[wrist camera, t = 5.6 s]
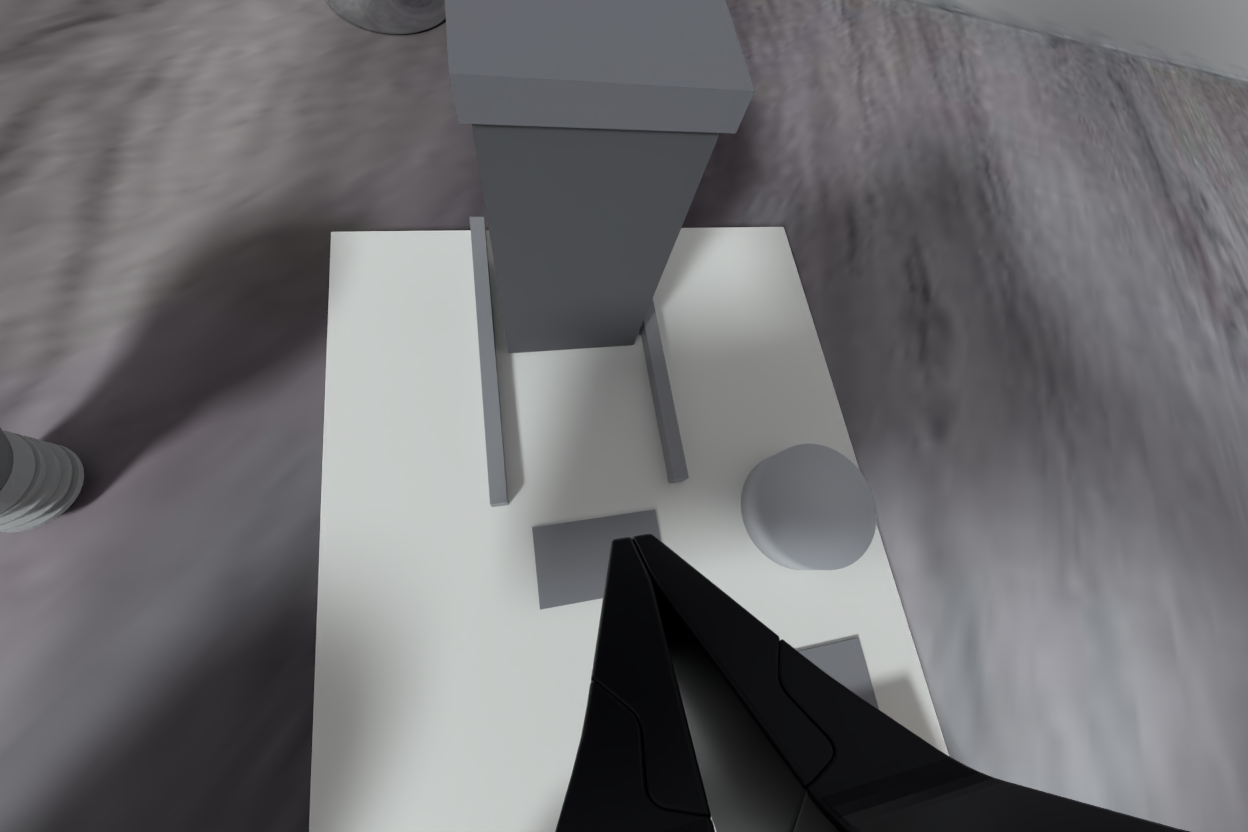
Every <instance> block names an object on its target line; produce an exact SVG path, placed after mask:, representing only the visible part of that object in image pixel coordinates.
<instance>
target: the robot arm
mask: <svg viewBox="0 0 1248 832" xmlns="http://www.w3.org/2000/svg"><path fill="white" fill-rule="evenodd" d="M711 818H712V820H711ZM712 821H713V822H712ZM713 823H714V825H713ZM714 826H715V829H716V831H717V832H1190V831H1185V830H1181V829H1177V828H1173V827H1170V826H1166V825H1162V824H1159V823H1155V822H1151V821H1148V820H1144V819H1141V818H1137V817H1133V816H1130V815H1126V814H1122V813H1119V812H1115V811H1112V810H1108V809H1104V808H1101V807H1097V806H1093V805H1090V804H1086V803H1082V802H1079V801H1075V800H1072V799H1068V798H1064V797H1061V796H1057V795H1053V794H1050V793H1046V792H1043V791H1039V790H1035V789H1032V788H1028V787H1024V786H1021V785H1017V784H1014V783H1010V782H1006V781H1003V780H1000V779H996V778H993V777H991V776H988V775H986V774H983V773H981V772H978V771H976V770H974V769H972V768H970V767H968V766H966V765H964V764H962V763H960V762H958V761H957V760H955V759H953V758H951V757H949V756H948V755H946V754H945V753H943V752H941V751H940V750H938V749H937V748H935V747H934V746H932V745H931V744H929V743H928V742H926V741H925V740H923V739H922V738H920V737H919V736H917V735H916V734H914V733H913V732H911V731H910V730H908V729H907V728H905V727H904V726H902V725H901V724H899V723H898V722H897V721H895V720H894V719H892V718H891V717H889V716H888V715H886V714H885V713H883V712H882V711H880V710H879V709H877V708H876V707H874V706H873V705H871V704H870V703H868V702H867V701H865V700H864V699H862V698H861V697H859V696H858V695H857V694H855V693H854V692H852V691H851V690H849V689H848V688H847V687H845V686H844V685H842V684H841V683H839V682H838V681H837V680H835V679H834V678H832V677H831V676H830V675H828V674H827V673H825V672H824V671H823V670H821V669H820V668H819V667H818V666H816V665H815V664H814V663H812V662H811V661H810V660H808V659H807V658H806V657H805V656H803V655H802V654H801V653H799V652H798V651H797V650H796V649H794V648H793V647H792V646H791V645H789V644H788V643H787V642H786V641H784V640H783V639H781V640H780V638H779V636H778V635H777V634H776V633H774V632H773V631H772V630H771V629H769V628H768V627H767V626H766V625H764V624H763V623H762V622H761V621H759V620H758V619H757V618H756V617H754V616H753V615H752V614H751V613H749V612H748V611H747V610H746V609H745V608H743V607H742V606H741V605H740V604H738V603H737V602H736V601H735V600H733V599H732V598H731V597H730V596H728V595H727V594H726V593H725V592H723V591H722V590H721V589H720V588H718V587H717V586H716V585H715V584H714V583H712V582H711V581H710V580H709V579H707V578H706V577H705V576H704V575H702V574H701V573H700V572H699V571H697V570H696V569H695V568H694V567H692V566H691V565H690V564H689V563H687V562H686V561H685V560H684V559H682V558H681V557H680V556H679V555H678V554H676V553H675V552H674V551H673V550H671V549H670V548H669V547H668V546H666V545H665V544H664V543H663V542H661V541H660V540H659V539H658V538H656V537H655V536H654V535H652V534H643V535H636V536H634V537H633V538H630V537H624V538H617V539H613V540H612V542H611V547H610V554H609V561H608V568H607V574H606V581H605V588H604V594H603V601H602V608H601V615H600V621H599V628H598V635H597V642H596V648H595V655H594V662H593V669H592V675H591V683H590V687H589V694H588V701H587V707H586V712H585V718H584V723H583V728H582V734H581V739H580V742H579V746H578V750H577V754H576V758H575V762H574V766H573V770H572V774H571V777H570V781H569V784H568V788H567V792H566V795H565V799H564V802H563V806H562V809H561V813H560V816H559V820H558V823H557V827H556V830H555V832H715V829H714Z"/></svg>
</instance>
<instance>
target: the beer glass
mask: <svg viewBox="0 0 1248 832" xmlns="http://www.w3.org/2000/svg"><path fill="white" fill-rule="evenodd" d="M326 2H327V3H328V5H329V6H330V7H331V8H332V9H333V10H334V11H335V12H336V13H337V14H338V15H340V16H341V17H342V18H344V19H345V20H347V21H349V22H351V23H352V24H354V25H357V26H359V27H361V28H364V29H367V30H371V31H375V32H379V33H386V34H411V33H417V32H421V31H425V30H428V29H430V28H433V27H435V26H437V25H438V24H440V23H441V22H443V21H444V20H445V19H446V13H445V0H326Z"/></svg>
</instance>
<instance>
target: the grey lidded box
mask: <svg viewBox="0 0 1248 832" xmlns="http://www.w3.org/2000/svg"><path fill="white" fill-rule="evenodd" d="M445 13H446V30H447V46H448V62H449V75H450V80H451V86H452V91H453V96H454V102H455V107H456V112H457V118H458V123H459V124H472V126H473V133H474V139H475V145H476V152H477V158H478V164H479V171H480V177H481V183H482V190H483V196H484V202H485V209H486V215H487V222H488V228H489V234H490V241H491V247H492V253H493V260H494V266H495V272H496V279H497V285H498V291H499V298H500V304H501V311H502V317H503V323H504V330H505V336H506V342H507V349H508V353H523V352H538V351H553V350H568V349H583V348H598V347H613V346H628V345H634V342H635V340H636V337H637V335H638V332H639V330H640V328H641V325H642V323H643V320H644V318H645V315H646V313H647V310H648V308H649V306H650V303H651V301H652V298H653V296H654V293H655V291H656V289H657V286H658V284H659V281H660V279H661V276H662V274H663V271H664V269H665V267H666V264H667V262H668V259H669V257H670V254H671V252H672V249H673V247H674V245H675V242H676V240H677V237H678V235H679V232H680V230H681V228H682V225H683V223H684V220H685V218H686V215H687V213H688V210H689V208H690V206H691V203H692V201H693V198H694V196H695V193H696V191H697V188H698V186H699V184H700V181H701V179H702V176H703V174H704V171H705V169H706V166H707V164H708V162H709V159H710V157H711V154H712V152H713V149H714V147H715V145H716V142H717V140H718V137H719V135H720V133H736V132H737V130H738V128H739V125H740V123H741V121H742V119H743V116H744V114H745V112H746V110H747V108H748V105H749V103H750V101H751V99H752V96H753V94H754V92H755V90H754V87H753V84H752V81H751V78H750V75H749V71H748V68H747V65H746V62H745V59H744V56H743V53H742V50H741V47H740V44H739V41H738V38H737V34H736V31H735V28H734V25H733V22H732V19H731V16H730V13H729V10H728V7H727V4H726V1H725V0H445Z"/></svg>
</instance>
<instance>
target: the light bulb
mask: <svg viewBox="0 0 1248 832" xmlns="http://www.w3.org/2000/svg"><path fill="white" fill-rule="evenodd" d="M83 481H84V468H83V466H82V463H81V461H80V459H79V458H78V456H77V455H76V454H75V453H74V452H72V451H71V450H70V449H68V448H66V447H64V446H62V445H58V444H54V443H50V442H46V441H42V440H37V439H35V438H31V437H27V436H22V435H19V434H15V433H11V432H7V431H3V430H1V428H0V532H10V533H14V532H23V531H28V530H31V529H35V528H38V527H40V526H43V525H45V524H47V523H49V522H51V521H52V520H54V519H56V518H57V517H59V516H60V515H61V514H62V513H64V512H65V511H66V510H67V509H68V508H69V507H70V506H71V505H72V504H73V503H74V501H75V500H76V498H77V497H78V495H79V493H80V491H81V488H82V486H83Z"/></svg>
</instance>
